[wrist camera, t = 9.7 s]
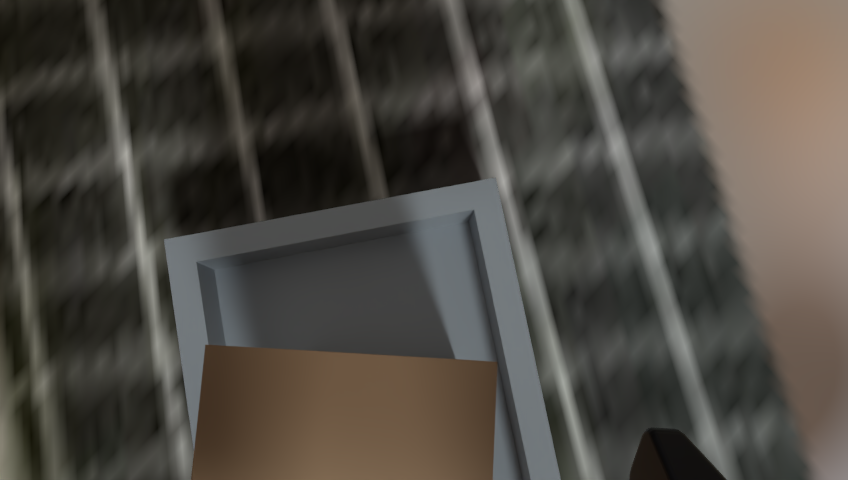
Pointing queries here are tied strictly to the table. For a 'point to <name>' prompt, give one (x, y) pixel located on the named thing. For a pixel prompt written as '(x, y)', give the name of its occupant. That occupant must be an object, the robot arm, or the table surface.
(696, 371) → the table surface
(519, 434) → the tray
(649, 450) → the robot arm
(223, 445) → the block
